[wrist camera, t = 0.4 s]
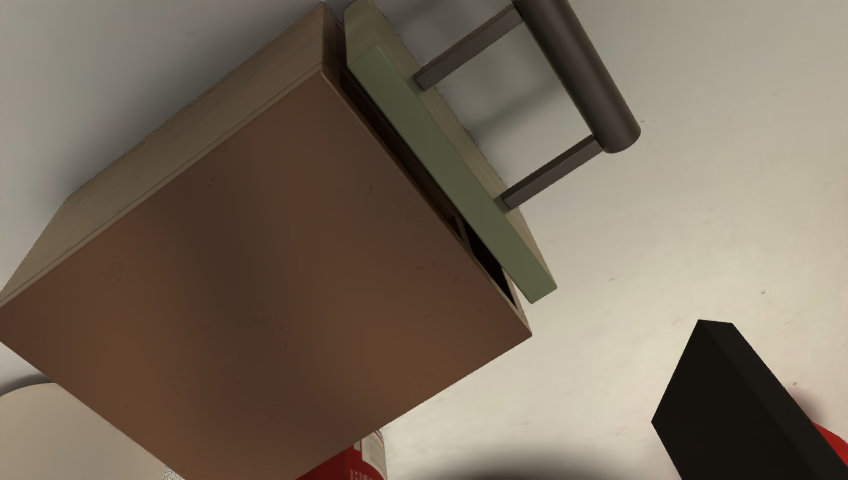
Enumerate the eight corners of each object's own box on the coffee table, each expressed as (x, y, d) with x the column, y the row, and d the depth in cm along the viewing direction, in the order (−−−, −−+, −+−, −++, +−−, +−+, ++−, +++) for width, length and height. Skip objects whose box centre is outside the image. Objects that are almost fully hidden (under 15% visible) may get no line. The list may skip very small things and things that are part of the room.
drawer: (489, -101, 28) (539, -76, 21) (622, 126, 33) (696, 203, 26) (116, 182, 32) (59, 278, 25) (288, 344, 37) (278, 461, 30)
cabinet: (323, 0, 30) (320, 69, 22) (486, 216, 36) (533, 336, 28) (65, 198, 33) (-24, 325, 25) (255, 368, 39) (234, 517, 30)
